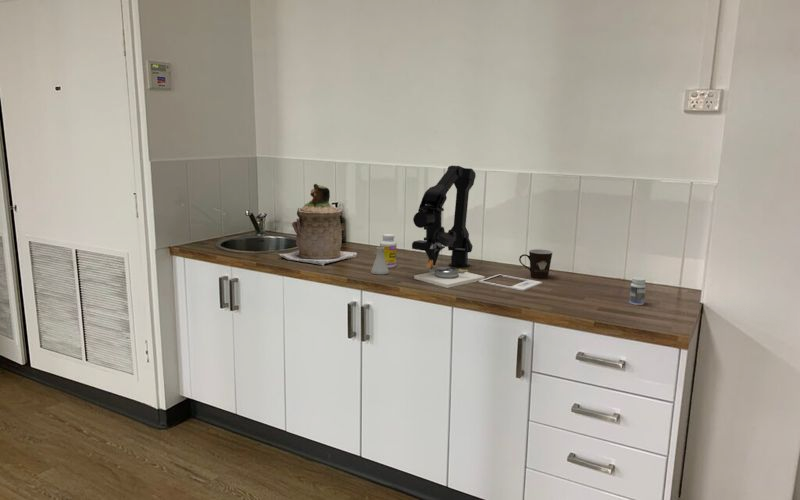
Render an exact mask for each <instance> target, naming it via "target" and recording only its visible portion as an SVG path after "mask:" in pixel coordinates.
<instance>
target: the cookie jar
mask: <svg viewBox="0 0 800 500" xmlns="http://www.w3.org/2000/svg"><path fill="white" fill-rule="evenodd" d="M330 194H331V192H330V189H329V188H328V187H327V186H324V185H319V184H318V183H314V184H313V188H312V189H311V190H310V196H311V197H312V199H311V200H310V201H309V202H307V203H305V204H304V206H302V207H301V206H299V207H298V208H297V211H296V215H297V217H298V218H296V220H295V221H293V222H292V223H291V227H292V228H293V230H294V232H295V234H296V236H295V238H296V239H295V245H296V246H297V248H298V250H296V251H292V252H289V253H279V254H278V255H279V256H280V257H281V258H284V259H286V260H288V261H295V262H296V261H297V262H303V263H308V264H309V263H310V264H314V265H319V266H322V267H324V266H325V264H330V263H335V262H338V261H342V260H343V261H344V260H346V259H353V258H354V259H355V258H356V257H357V255H358V253H357V252H353V251H341V248H342V242H343V241H342V240H343V235H342V225H341V224H342V223H341V217H340V216H341V215H342V213H343V210H342V209H340V208H339V209H338V208H336V207H334V206H332V205H331V204H330V203H329V202H330V199H331V198H330V197H331V195H330Z"/></svg>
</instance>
